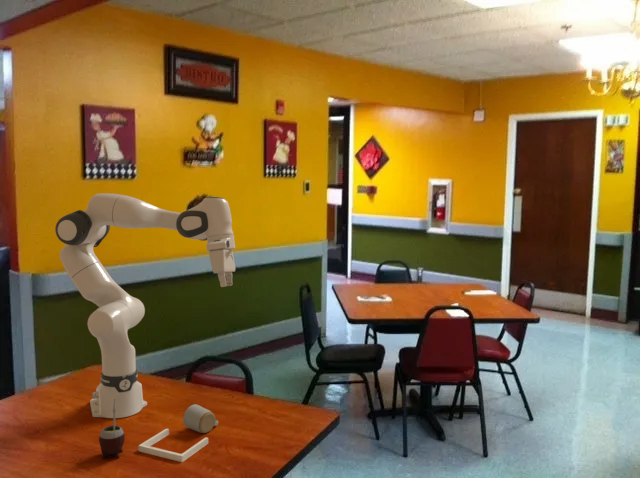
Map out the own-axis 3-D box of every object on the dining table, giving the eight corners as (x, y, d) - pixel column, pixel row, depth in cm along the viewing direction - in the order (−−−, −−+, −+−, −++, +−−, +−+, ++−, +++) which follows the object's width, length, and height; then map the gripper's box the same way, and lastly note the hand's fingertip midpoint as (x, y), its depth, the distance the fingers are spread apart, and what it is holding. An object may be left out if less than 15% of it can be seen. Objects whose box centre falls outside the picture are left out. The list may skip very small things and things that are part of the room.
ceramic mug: (200, 437, 183) (200, 414, 182) (182, 430, 188) (182, 407, 187) (224, 426, 192) (224, 404, 191) (207, 420, 196) (207, 398, 196)
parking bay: (138, 451, 174) (138, 445, 173) (166, 433, 185) (166, 428, 185) (182, 462, 167) (182, 456, 167) (208, 443, 179) (208, 437, 179)
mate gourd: (107, 463, 166) (106, 413, 165) (93, 454, 171) (92, 405, 170) (131, 454, 172) (129, 405, 170) (116, 446, 177) (115, 398, 175)
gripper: (219, 247, 202) (224, 286, 202) (204, 245, 182) (210, 288, 181) (236, 244, 202) (241, 284, 201) (224, 242, 182) (230, 286, 181)
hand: (226, 286), depth 191 cm, fingers open, 8 cm apart
